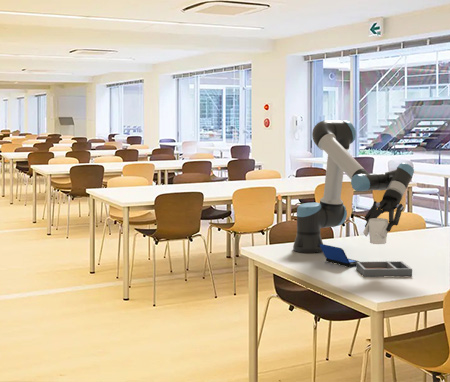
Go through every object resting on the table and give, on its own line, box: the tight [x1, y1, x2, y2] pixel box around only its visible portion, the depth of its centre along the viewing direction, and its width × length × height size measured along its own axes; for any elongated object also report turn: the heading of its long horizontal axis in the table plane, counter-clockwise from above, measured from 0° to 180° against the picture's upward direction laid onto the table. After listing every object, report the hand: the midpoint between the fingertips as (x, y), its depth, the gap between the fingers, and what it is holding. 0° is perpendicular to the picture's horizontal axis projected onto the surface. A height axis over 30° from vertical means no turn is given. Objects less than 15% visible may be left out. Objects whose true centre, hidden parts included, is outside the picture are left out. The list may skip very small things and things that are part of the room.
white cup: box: [368, 217, 389, 245], centre depth 281 cm, size 8×8×10 cm
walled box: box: [355, 260, 413, 278], centre depth 282 cm, size 20×15×3 cm
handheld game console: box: [320, 243, 361, 268], centre depth 300 cm, size 16×13×9 cm
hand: (373, 235), depth 278 cm, fingers closed on white cup, 8 cm apart
